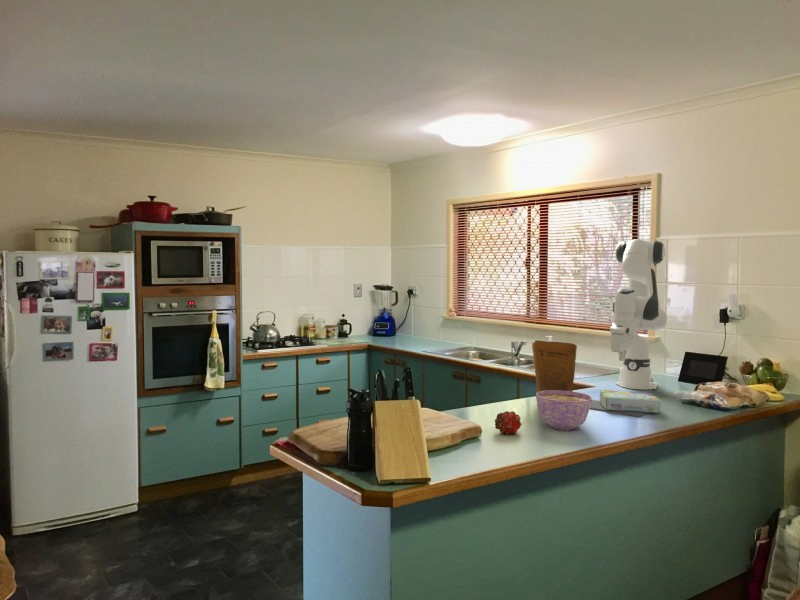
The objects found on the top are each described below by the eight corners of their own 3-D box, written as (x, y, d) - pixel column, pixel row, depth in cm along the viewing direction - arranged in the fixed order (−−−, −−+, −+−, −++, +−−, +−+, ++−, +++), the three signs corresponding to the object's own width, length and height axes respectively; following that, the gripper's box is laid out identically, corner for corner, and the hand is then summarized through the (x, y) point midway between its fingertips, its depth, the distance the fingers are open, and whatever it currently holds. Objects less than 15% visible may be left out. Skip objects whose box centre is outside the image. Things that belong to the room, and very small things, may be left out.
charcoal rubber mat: (590, 400, 289) (590, 399, 289) (651, 410, 273) (651, 408, 273) (576, 406, 276) (576, 405, 276) (639, 417, 260) (640, 415, 260)
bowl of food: (603, 430, 238) (604, 398, 237) (561, 437, 228) (562, 403, 227) (563, 418, 255) (564, 388, 254) (522, 423, 245) (524, 392, 244)
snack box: (651, 391, 279) (661, 400, 264) (650, 405, 280) (660, 414, 265) (599, 389, 282) (606, 397, 267) (599, 402, 282) (605, 411, 268)
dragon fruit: (494, 440, 227) (515, 439, 235) (512, 430, 222) (533, 429, 230) (485, 417, 231) (506, 417, 239) (503, 406, 226) (523, 407, 234)
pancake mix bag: (569, 415, 260) (572, 344, 258) (528, 406, 273) (531, 339, 272) (578, 413, 265) (581, 343, 263) (537, 404, 278) (540, 338, 276)
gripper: (624, 324, 289) (622, 356, 290) (608, 329, 273) (606, 362, 274) (639, 326, 285) (637, 358, 286) (623, 330, 269) (622, 364, 270)
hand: (622, 360), depth 280 cm, fingers closed
